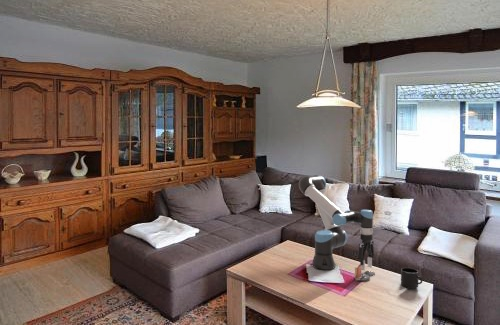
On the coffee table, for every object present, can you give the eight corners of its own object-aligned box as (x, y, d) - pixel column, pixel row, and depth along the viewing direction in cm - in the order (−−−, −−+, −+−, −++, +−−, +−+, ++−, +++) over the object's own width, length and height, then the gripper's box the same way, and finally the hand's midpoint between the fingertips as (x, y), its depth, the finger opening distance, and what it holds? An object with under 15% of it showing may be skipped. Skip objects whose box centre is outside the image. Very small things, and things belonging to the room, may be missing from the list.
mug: (418, 291, 198) (418, 275, 198) (397, 285, 207) (398, 270, 207) (425, 287, 204) (425, 271, 204) (405, 281, 213) (405, 266, 213)
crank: (360, 274, 220) (360, 261, 220) (366, 275, 218) (366, 263, 218) (354, 279, 212) (354, 266, 211) (361, 280, 209) (361, 267, 209)
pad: (353, 272, 228) (353, 271, 228) (363, 269, 235) (363, 268, 235) (368, 277, 220) (368, 276, 220) (378, 273, 227) (378, 272, 227)
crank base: (349, 279, 217) (349, 266, 216) (360, 275, 224) (360, 262, 224) (362, 283, 210) (362, 270, 209) (372, 279, 217) (372, 266, 217)
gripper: (362, 237, 217) (362, 273, 218) (380, 232, 230) (379, 266, 231) (352, 235, 223) (351, 270, 223) (369, 230, 236) (369, 263, 237)
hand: (366, 268), depth 227 cm, fingers open, 8 cm apart
